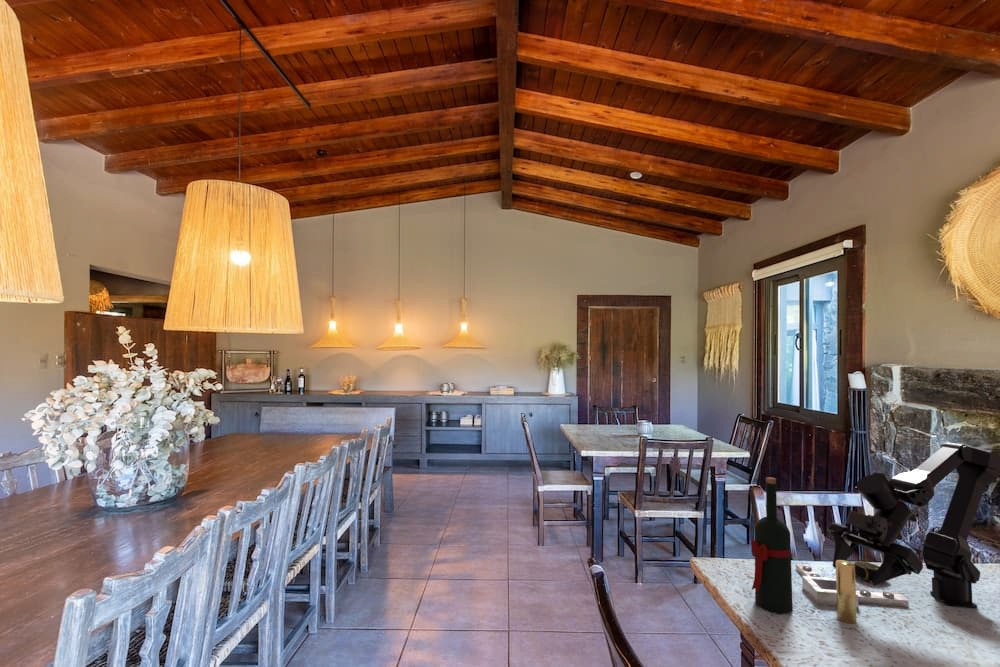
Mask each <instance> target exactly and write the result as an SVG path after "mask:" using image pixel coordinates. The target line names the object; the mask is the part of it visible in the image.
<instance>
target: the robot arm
mask: <svg viewBox="0 0 1000 667" xmlns="http://www.w3.org/2000/svg"><path fill="white" fill-rule="evenodd" d="M955 470H956V473H957V475H958V479H957V482H956V484H955V487H954V491H953V493H952V495H951V499H950V501H949V505H948V506H947V511H946V512H945V516H944V519H943V522H942V524H941V527H940V529H939V530H937V531H935V532H933V531H928V532H927V533H926V537H925V540H924V542H923V544H922V549H921V555H922V558H923V560H924V563H923V562H922V560H921V559H920V558H919V556H918V555H917V554H916V553H915V552H914V551H913V549H912V548H911V547H908V546H905V545H902V544H899V543H897V542H896V540H898V541H902V539H903V536H902V534H901V532H902V530H903V529H904V528H905V526H906V525H907V522H909V521H911V522H914V523H916V522H917V521H918V520H917V516H916V514H915V510H914V509H913V508H910V507H909V506H908V505H913V506H916V507H921V508H923V507H925V506H926V505H928V504H929V502H930V501H931V500H932V499H933V497H934V496H935V487H936V486H937V485H938V484H939V483H940V482H941V481H942V480H944V479H945V478H946V477H948V475H950V474H951V473H952V472H953V471H955ZM999 476H1000V453H999V452H998V451H996V450H991V449H986V448H978V447H972V446H969V445H966V444H962V443H954V442H949V441H947V442H943V443H942V444H941V445H940V447H939V449H938V450H936V451H935V452H934V453H933V454H932V455H931V456H929V457H928V458H926V460H924V461H923V462H922V463H921V464H920V465H918V466H917V467H916V468H914V469H913V470H911V471H906V472H901V473H898V474H897V475H895V476H893V477H891V478H890V479H888V478H887V476H886V474H885V473H883V472H879V471H874V472H873V473H872V474H869V475H866V476H864V477H861V478H859V479H858V481H857V482H856V485H855V486H856V489H857V490H858V492H859V493H860V494H861V495H862V496H863V498H864V499H865V501H866V502H867V503H868V504H869V505H870V506H871V508H873V509H875V512H874V514H873V515H871V514H867V515H866V514H863V513H859V512H857V511H853V510H849V513H848V516H847V518H846V520H845V524H846V525H850V526H853V527H855V528H854V531H855V532H856V533H857V534H859V535H860V536H859V535H856V534H854V532H853V531H852V530H851V528H850V527H849V526H846V525H843V524H841V523H839V522H838V523H837V522H831V523H830V524H829V525H828V526H827V528H826V531H828V533H829V534H830V536H831V537H832V538H833V540H834V553H833V559H832V560H833V561H832V567H833V568H834V569H835V570H836V560H845V561H848V559H849V558H850V557H851V556H852V555H853V554H854V553H855V551H854V549H856V548H857V547H858V546H860V547H863V548H866V549H868V550H871V551H873V552H877V553H878V554H882V555H883V560H882V563H881V564H880V566H879V569H878V570H877V572H876V574H875V575H874V577H873V579H872V581H870V582H871V584H872V585H873V586H874V587H876V586H879V585H881V584H884V583H885V582H888V581H889V580H892V579H896V578H898V577H902V576H904V575H909V576H911V575H912V573H913V574H916V575H921V574H920V573H921V572H922V570H923V568H924V565H923V564H925V567H926V569H927V570H930V571H932V572H933V577H931V591H929V594H930V595H932V596H934V597H935V598H936V599H937V600H939V601H940V602H942V603H943V604H944V605H947V606H952V607H965V608H974V609H975V608H977V609H978V604H976V603H974V602H973V587H972V586H973V585H972V584H977V582H979V581H980V577H981V571H980V570H979V569H978V568H977V566H976V565H975V564H974V563H973V562H972V560H971V559H972V555H973V553H972V551H971V549H970V545H969V543H968V538H969V535H970V531H971V528H972V525H973V524H974V520H975V517H976V514H977V512H978V511H977V510H978V509H979V505H980V502H981V499H982V497H983V494H984V491H985V488H986V487H987V486H988V485H989V484H991V483H992V482H995V481H996V480H998V478H999ZM907 504H908V505H907Z"/></svg>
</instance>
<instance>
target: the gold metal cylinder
mask: <svg viewBox="0 0 1000 667" xmlns="http://www.w3.org/2000/svg"><path fill="white" fill-rule="evenodd" d="M835 578H836V592H837V606H836V618H837V620H838V621H840V622H842V623H844V624H849V625H855V624H857V622H858V621H857V608H856V591H857V589H856V588H857V587H856V585H857V584H856V575H855V564H854V562H852V561H849V560H846V561H845V560H836V569H835Z"/></svg>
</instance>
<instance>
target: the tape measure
mask: <svg viewBox="0 0 1000 667" xmlns="http://www.w3.org/2000/svg"><path fill="white" fill-rule="evenodd" d="M853 563H854V564H855V577H858V578H860V579H862V580H864V581H867V582H872V579H873V577H874V575H875V574H876V572H877V570H878V569H879V567H880V566H879V565H876V564H874V563H871V562H868V561H865V560H861V561H860V560H859V561H858V560H857V561H854V562H853Z"/></svg>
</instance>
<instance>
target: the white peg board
mask: <svg viewBox="0 0 1000 667" xmlns="http://www.w3.org/2000/svg"><path fill="white" fill-rule="evenodd" d="M795 570H796V571H797V572H798V573H799V574H800V575H801V580H802V582H801V584H802V585H801V586H802V588H803V590H804V591H805V592H806V593H807V595H808V596H810V598H811V599H812V600H813V601H814V602H815V603H816V604H817V605H824V606H835V607H837V592H836V577H835V578H834V577H825V576H824V577H822V576H821V575H819V573H818V572H817V571H816V570H814V568H812V567H811V566H810V565H809V564H804V563H801V564H800V563H795ZM859 603H860V604H868V605H869V604H870V605H882V606H883V605H884V606H890V607H891V606H894V607H905V608H909V607H910V606H909V605H910V604H909V600H908V599H907V598H906V597H905V596H904V595H902V594H900V593H892V592H888V591H882V592H879V591H878V592H877V591H870V590H865V589H859V590H856V609H857V608H859Z"/></svg>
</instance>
